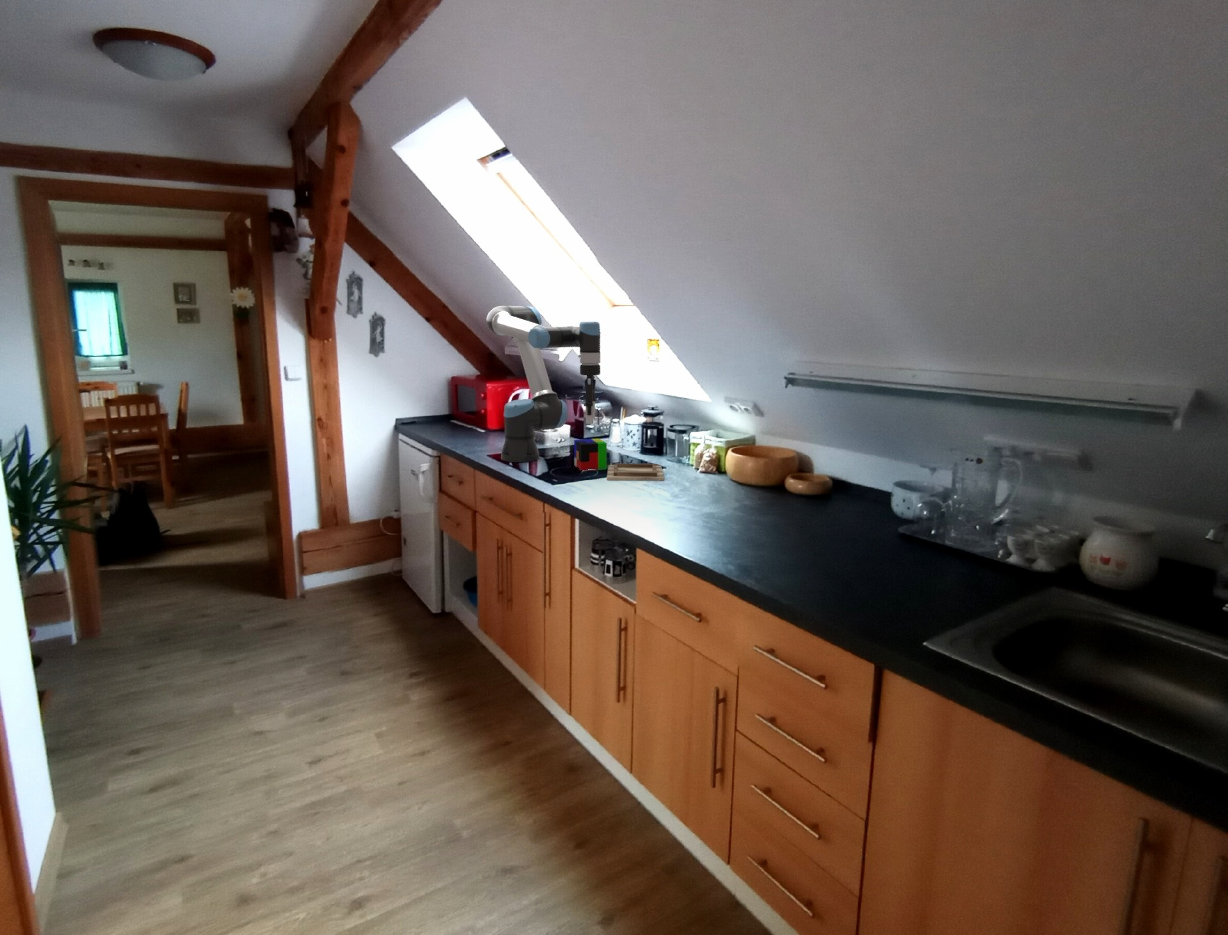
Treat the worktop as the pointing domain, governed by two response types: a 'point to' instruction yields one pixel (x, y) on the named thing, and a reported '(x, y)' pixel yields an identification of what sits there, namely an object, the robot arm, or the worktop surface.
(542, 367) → the robot arm
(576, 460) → the puzzle toy
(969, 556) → the worktop surface
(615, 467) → the locating board
